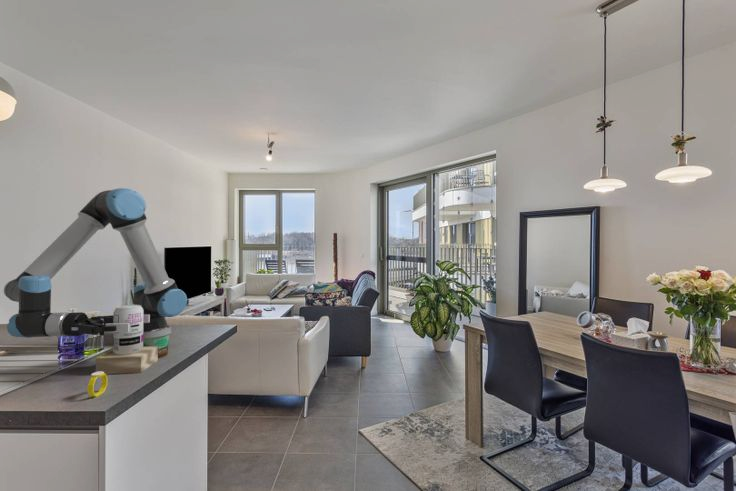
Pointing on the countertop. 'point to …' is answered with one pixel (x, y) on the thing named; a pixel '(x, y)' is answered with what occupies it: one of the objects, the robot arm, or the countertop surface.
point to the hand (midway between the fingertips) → (139, 322)
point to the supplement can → (134, 338)
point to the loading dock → (127, 361)
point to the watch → (92, 382)
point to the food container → (158, 339)
